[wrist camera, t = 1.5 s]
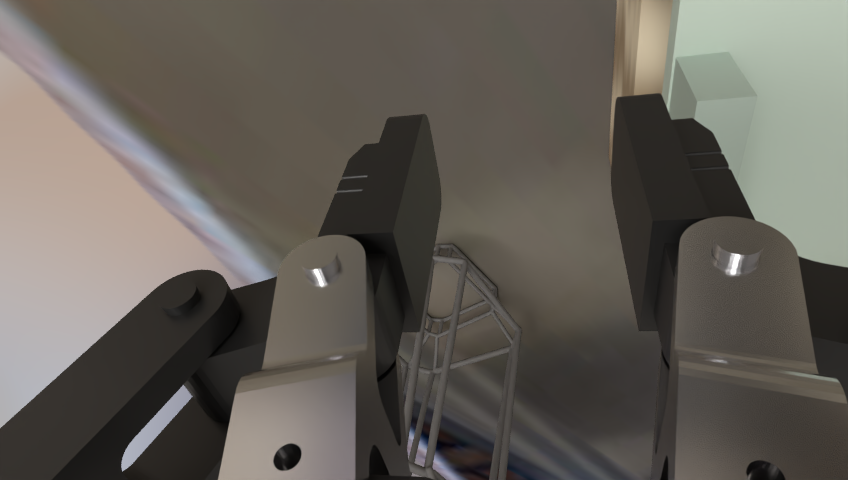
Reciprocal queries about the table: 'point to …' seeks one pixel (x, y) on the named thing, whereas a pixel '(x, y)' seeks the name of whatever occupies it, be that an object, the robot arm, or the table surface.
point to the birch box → (639, 50)
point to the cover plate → (771, 107)
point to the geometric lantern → (459, 365)
